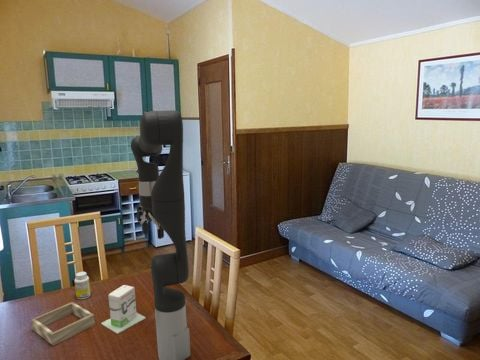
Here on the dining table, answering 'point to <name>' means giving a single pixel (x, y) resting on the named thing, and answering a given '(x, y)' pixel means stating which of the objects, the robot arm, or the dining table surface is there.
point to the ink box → (122, 305)
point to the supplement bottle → (82, 285)
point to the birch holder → (64, 332)
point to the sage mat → (129, 324)
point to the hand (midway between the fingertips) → (153, 235)
